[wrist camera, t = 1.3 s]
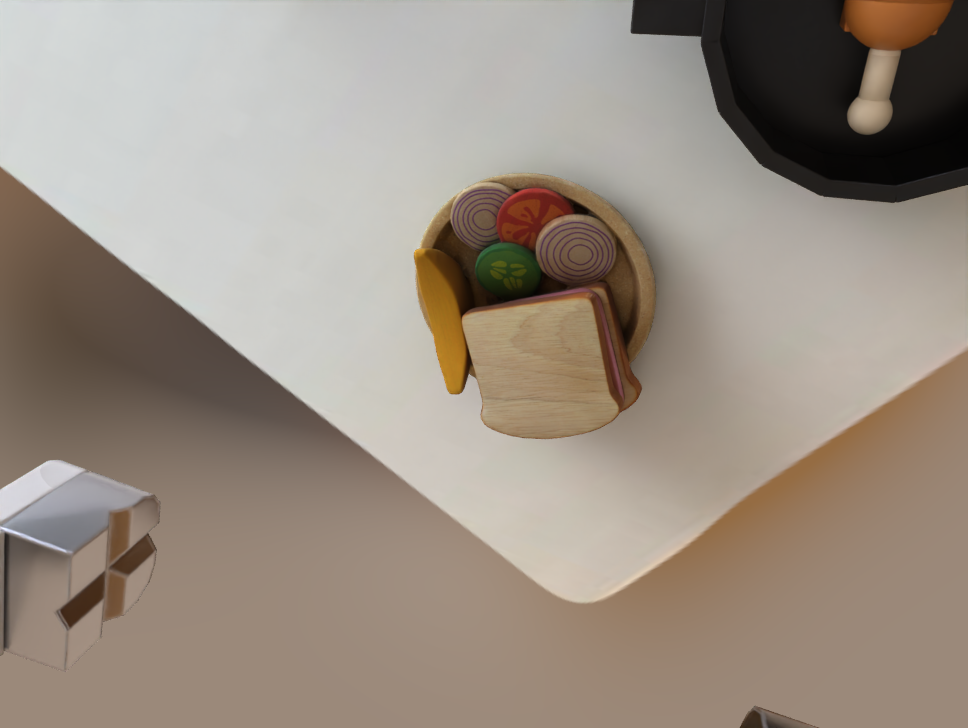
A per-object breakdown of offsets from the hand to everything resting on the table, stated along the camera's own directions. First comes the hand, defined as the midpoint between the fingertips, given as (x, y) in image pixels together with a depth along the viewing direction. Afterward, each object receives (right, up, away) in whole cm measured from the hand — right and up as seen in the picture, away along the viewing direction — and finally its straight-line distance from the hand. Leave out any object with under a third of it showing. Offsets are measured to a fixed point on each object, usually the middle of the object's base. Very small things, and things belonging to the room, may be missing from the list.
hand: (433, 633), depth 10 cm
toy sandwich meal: (+4, +7, +31) cm, 32 cm away
